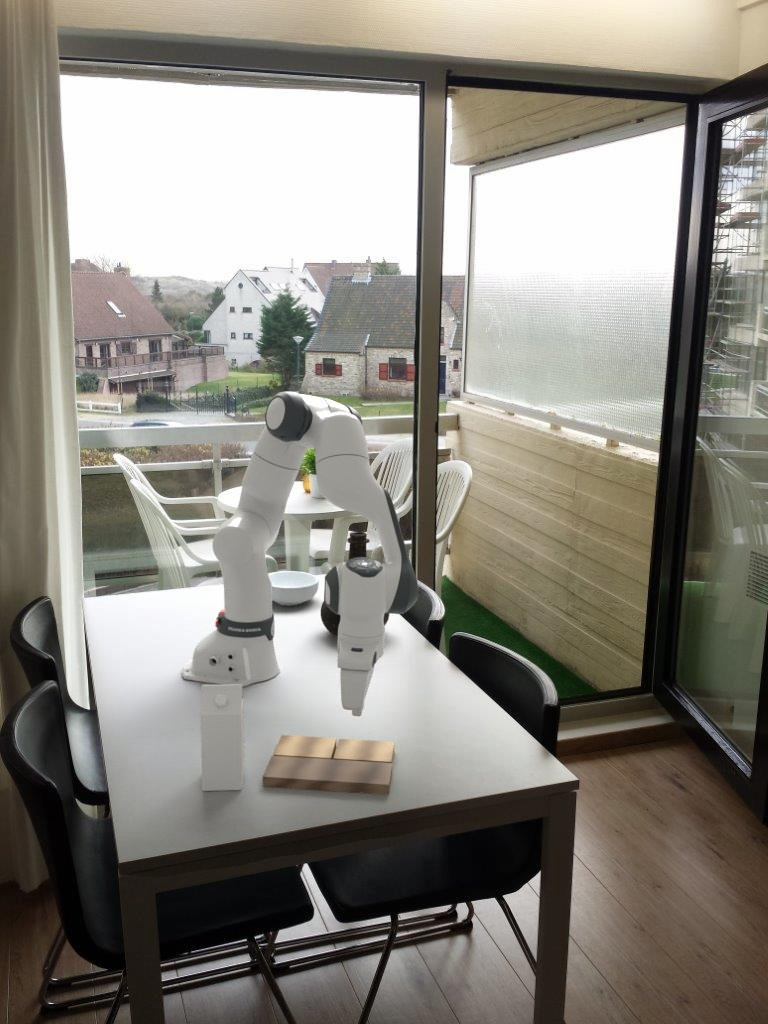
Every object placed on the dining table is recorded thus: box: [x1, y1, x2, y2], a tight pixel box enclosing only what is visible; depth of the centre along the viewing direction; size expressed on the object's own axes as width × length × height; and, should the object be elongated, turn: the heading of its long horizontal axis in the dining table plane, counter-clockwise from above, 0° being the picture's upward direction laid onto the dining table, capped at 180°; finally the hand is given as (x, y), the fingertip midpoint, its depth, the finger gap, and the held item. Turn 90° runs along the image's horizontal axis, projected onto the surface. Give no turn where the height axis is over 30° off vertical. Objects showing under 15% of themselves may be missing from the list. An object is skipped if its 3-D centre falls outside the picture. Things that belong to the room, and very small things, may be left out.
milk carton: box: [200, 684, 245, 792], centre depth 169 cm, size 7×7×19 cm
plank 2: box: [333, 738, 395, 764], centre depth 180 cm, size 11×8×2 cm
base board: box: [262, 755, 393, 795], centre depth 172 cm, size 23×8×2 cm, turn 85°
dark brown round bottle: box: [320, 531, 390, 638], centre depth 243 cm, size 18×18×28 cm
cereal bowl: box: [268, 570, 320, 607], centre depth 272 cm, size 17×17×7 cm
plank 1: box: [273, 734, 338, 759], centre depth 181 cm, size 11×8×2 cm
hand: (357, 711), depth 179 cm, fingers closed
